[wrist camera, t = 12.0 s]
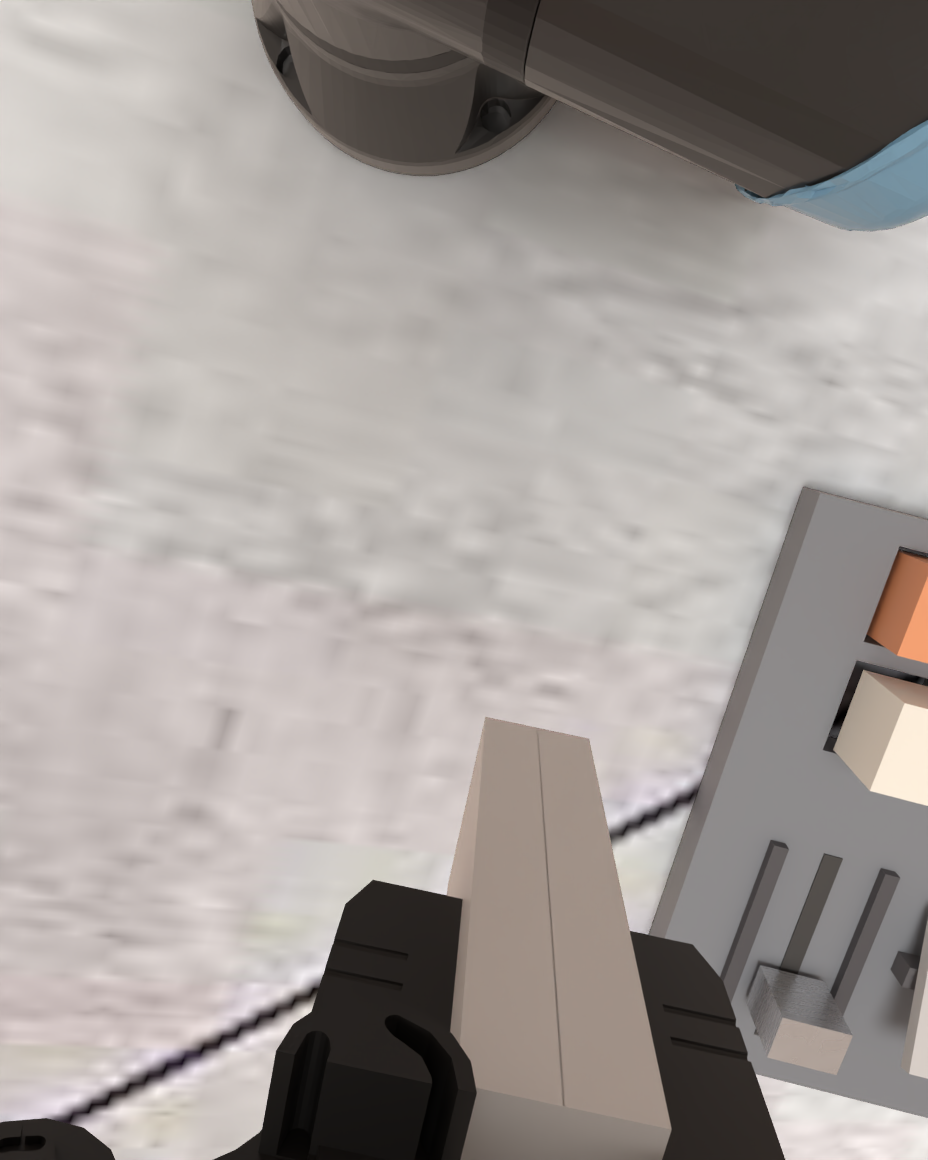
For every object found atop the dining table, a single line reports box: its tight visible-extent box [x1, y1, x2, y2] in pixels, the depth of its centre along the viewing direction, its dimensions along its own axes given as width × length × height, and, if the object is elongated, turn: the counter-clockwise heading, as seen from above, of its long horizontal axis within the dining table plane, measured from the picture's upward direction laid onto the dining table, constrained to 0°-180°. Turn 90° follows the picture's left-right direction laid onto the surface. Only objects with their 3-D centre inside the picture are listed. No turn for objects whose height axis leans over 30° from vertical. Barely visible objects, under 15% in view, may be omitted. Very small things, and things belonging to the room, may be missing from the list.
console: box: [649, 487, 928, 1118], centre depth 46 cm, size 32×18×4 cm, turn 166°
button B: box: [833, 670, 928, 806], centre depth 41 cm, size 4×4×5 cm
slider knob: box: [746, 965, 853, 1075], centre depth 45 cm, size 2×4×4 cm, turn 76°
